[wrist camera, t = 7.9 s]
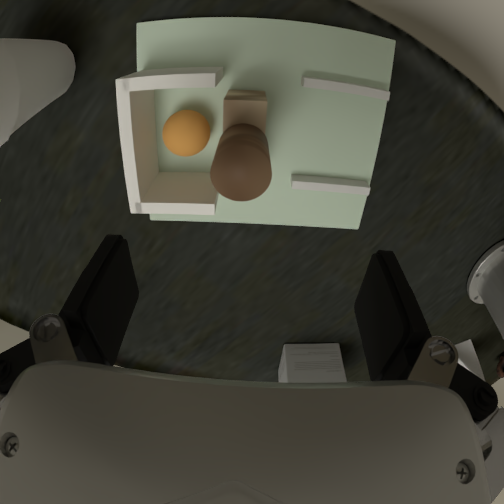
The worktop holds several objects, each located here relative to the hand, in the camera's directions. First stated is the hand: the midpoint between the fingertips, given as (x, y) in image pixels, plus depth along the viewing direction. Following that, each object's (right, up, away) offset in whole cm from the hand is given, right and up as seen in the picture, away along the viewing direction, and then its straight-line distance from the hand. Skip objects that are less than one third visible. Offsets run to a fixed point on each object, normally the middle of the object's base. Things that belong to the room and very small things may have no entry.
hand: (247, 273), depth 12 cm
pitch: (+1, +12, +15) cm, 20 cm away
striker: (0, +11, +14) cm, 18 cm away
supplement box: (+9, -16, +38) cm, 42 cm away
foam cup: (-20, +19, +11) cm, 29 cm away
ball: (-5, +11, +13) cm, 17 cm away
